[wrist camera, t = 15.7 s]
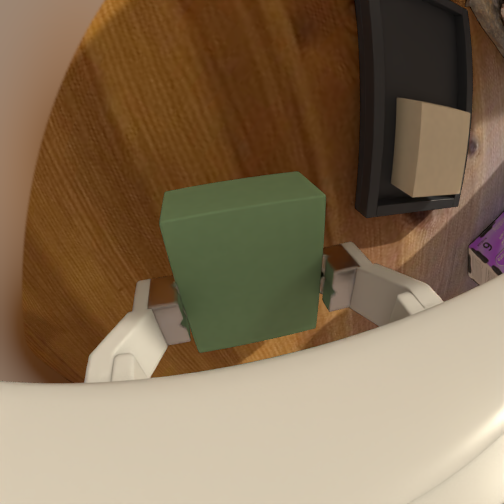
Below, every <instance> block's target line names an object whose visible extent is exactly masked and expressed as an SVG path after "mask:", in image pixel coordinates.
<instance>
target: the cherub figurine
mask: <svg viewBox="0 0 504 504" xmlns="http://www.w3.org/2000/svg"><path fill="white" fill-rule="evenodd" d="M468 6H470V7H471V9H472V11H473V12H474V14H475V16H476V17H477V21H479V22H480V24H481V26H482V28H483V29H484V30H485V32H486V33H487V34H488V36H489V37H490V38H491V40H492V41H493V43H494V44H495V45H496V47H497V48H498V50H499V51H500V53H501V54H502V56H503V57H504V0H467V1H466V5H465V7H468ZM479 22H478V23H479Z"/></svg>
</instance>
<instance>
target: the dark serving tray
mask: <svg viewBox="0 0 504 504" xmlns="http://www.w3.org/2000/svg"><path fill="white" fill-rule="evenodd" d="M355 7H356V17H357V28H358V42H359V60H360V143H359V163H358V178H357V190H356V202H355V209H357V210H358V211H359V212H360V213H361V214H362V215H363V216H364V217H366V218H370V217H378V216H386V215H394V214H402V213H410V212H418V211H426V210H434V209H442V208H451V207H458V204H459V199H460V195H461V190H462V185H463V179H464V174H465V168H466V161H467V154H468V147H469V138H470V128H471V115H472V94H473V68H472V47H471V35H470V26H469V18H468V11H467V10H466V9H464V8H463V7H461V6H459V5H457V4H455V3H454V2H452V1H450V0H355ZM397 97H399V98H405V99H412V100H417V101H423V102H428V103H433V104H438V105H443V106H447V107H451V108H455V109H458V110H462V111H465V112H469V113H470V126H469V136H468V145H467V153H466V160H465V166H464V173H463V178H462V184H461V189H460V193H459V194H451V195H438V196H425V197H411V196H409V195H408V194H406V193H405V192H403V191H402V190H400V189H399V188H397V187H395V186H394V185H392V184H391V177H392V167H393V157H394V145H395V129H396V104H397Z"/></svg>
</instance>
